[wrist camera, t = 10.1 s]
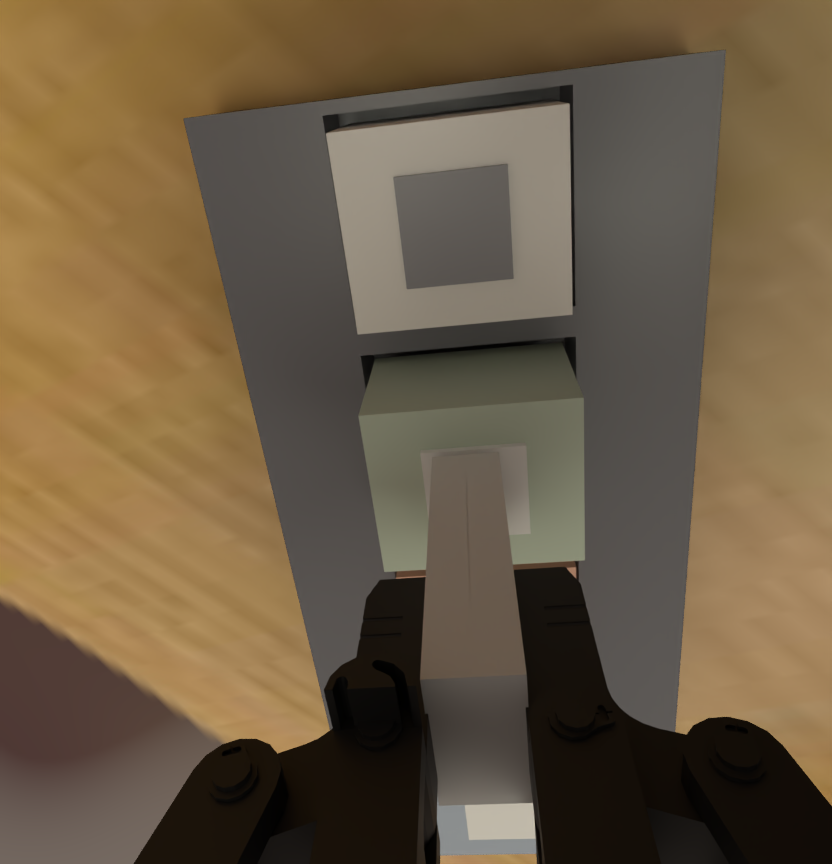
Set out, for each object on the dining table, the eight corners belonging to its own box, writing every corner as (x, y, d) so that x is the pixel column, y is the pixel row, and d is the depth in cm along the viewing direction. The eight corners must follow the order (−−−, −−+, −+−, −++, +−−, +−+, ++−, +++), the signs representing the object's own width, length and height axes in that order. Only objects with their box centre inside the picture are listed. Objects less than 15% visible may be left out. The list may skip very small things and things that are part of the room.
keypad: (217, 113, 18) (183, 118, 16) (689, 53, 17) (725, 49, 15) (352, 727, 28) (343, 785, 26) (653, 716, 27) (671, 776, 25)
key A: (375, 358, 19) (357, 418, 16) (561, 342, 18) (585, 400, 15) (395, 496, 21) (383, 575, 18) (564, 484, 20) (585, 564, 17)
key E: (349, 123, 18) (324, 134, 14) (548, 99, 17) (570, 103, 14) (374, 292, 20) (356, 336, 16) (553, 275, 19) (573, 316, 16)
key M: (422, 672, 24) (416, 769, 21) (568, 666, 24) (587, 763, 20) (434, 759, 26) (431, 860, 23) (570, 755, 25) (587, 857, 22)
